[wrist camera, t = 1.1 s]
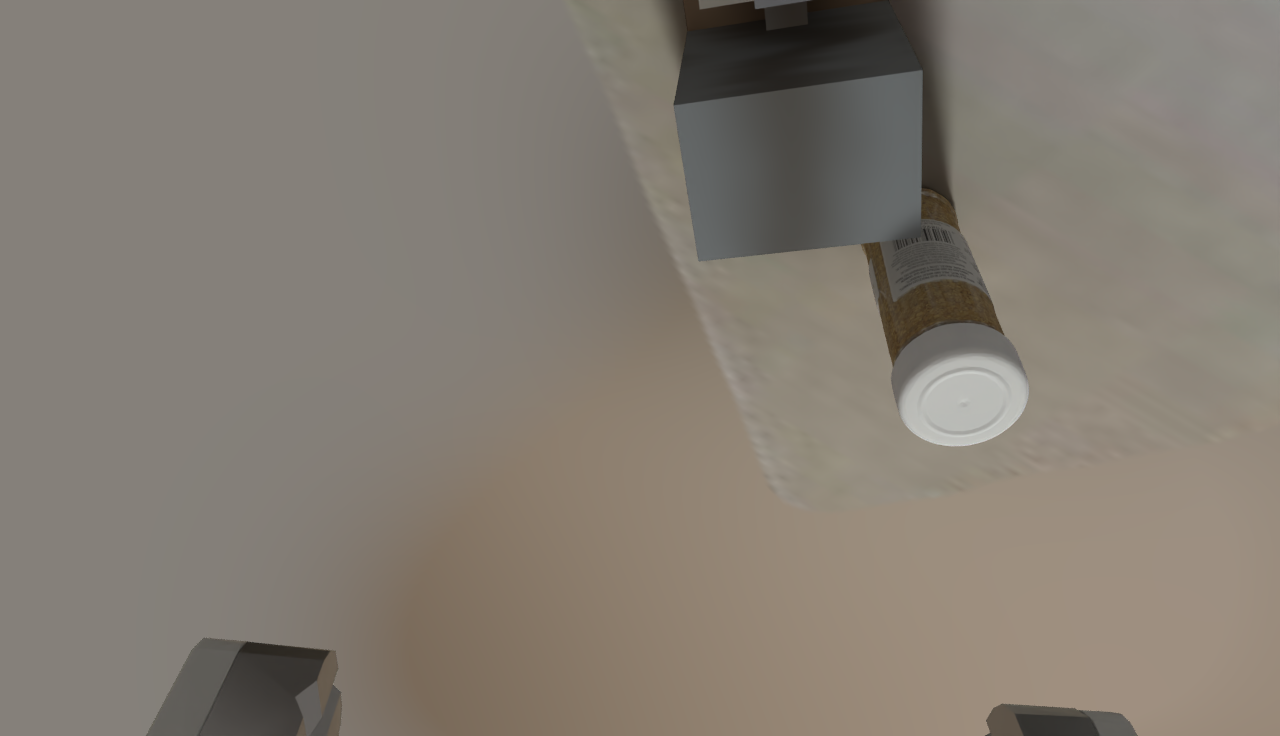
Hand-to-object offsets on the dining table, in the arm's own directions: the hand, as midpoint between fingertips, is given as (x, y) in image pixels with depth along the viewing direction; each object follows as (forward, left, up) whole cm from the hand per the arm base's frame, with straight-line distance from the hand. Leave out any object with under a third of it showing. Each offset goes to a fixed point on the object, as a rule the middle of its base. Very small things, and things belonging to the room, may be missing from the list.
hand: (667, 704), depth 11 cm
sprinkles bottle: (-7, +11, -33) cm, 35 cm away
